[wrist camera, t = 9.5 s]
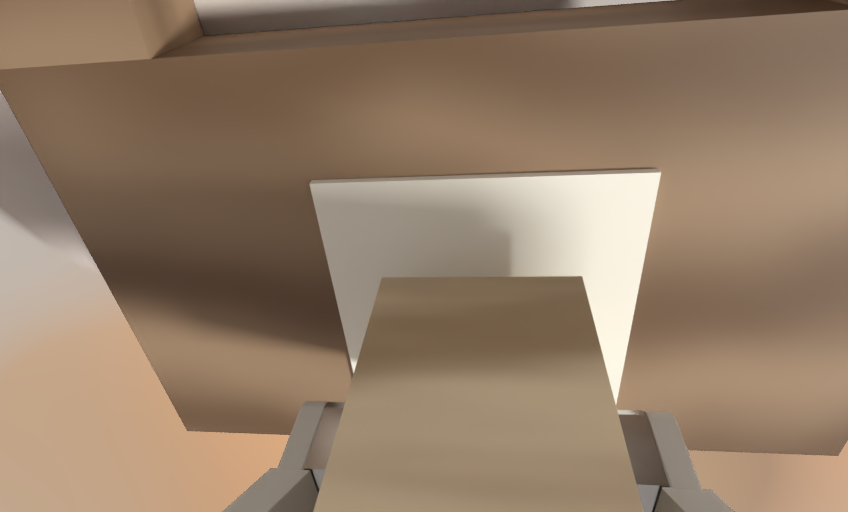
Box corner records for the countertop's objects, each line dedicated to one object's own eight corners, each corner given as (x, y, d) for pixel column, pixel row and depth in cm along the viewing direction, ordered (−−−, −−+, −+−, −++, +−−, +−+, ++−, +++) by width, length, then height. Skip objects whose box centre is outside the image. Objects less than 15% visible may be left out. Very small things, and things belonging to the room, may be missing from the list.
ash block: (381, 277, 12) (303, 544, 7) (582, 276, 11) (658, 570, 6) (402, 405, 14) (356, 669, 9) (566, 410, 13) (613, 696, 9)
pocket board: (-190, -515, 8) (-430, -668, 6) (1450, -948, 6) (2092, -1526, 3) (217, 379, 21) (184, 435, 18) (797, 393, 18) (841, 461, 16)
